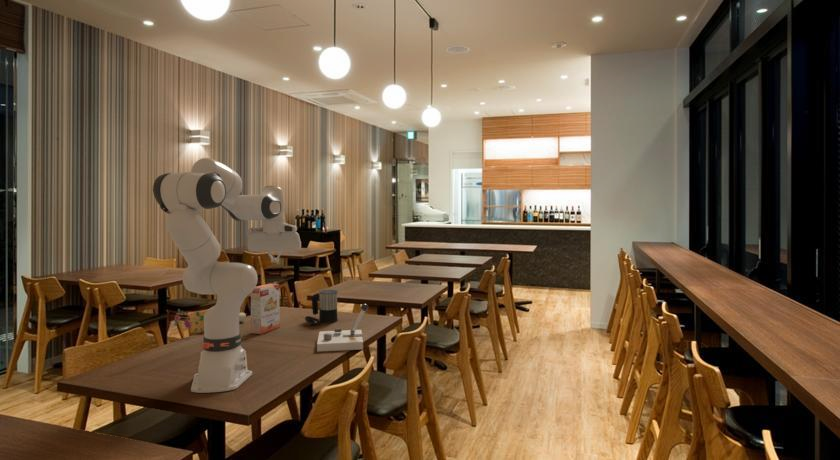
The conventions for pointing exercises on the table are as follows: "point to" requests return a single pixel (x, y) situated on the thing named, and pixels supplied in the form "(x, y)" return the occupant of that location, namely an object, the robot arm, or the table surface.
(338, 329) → the rocker switch
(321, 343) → the switch panel
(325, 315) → the milk frother
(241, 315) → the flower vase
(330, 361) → the table surface
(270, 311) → the cracker box
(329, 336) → the push button
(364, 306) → the toggle lever
